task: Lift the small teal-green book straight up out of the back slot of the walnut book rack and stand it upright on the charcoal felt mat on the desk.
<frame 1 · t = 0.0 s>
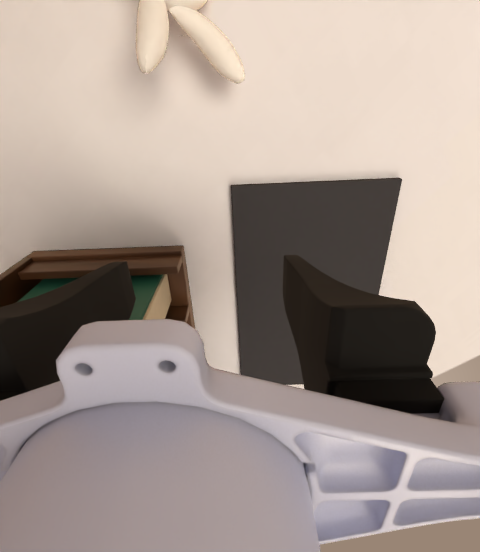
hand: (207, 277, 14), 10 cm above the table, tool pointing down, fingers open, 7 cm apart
rabbit figurine: (188, 28, 18), on the table
book rack: (128, 324, 28), on the table
felt mat: (306, 299, 27), on the table
green book: (111, 287, 25), point 1 cm above the table, touching book rack
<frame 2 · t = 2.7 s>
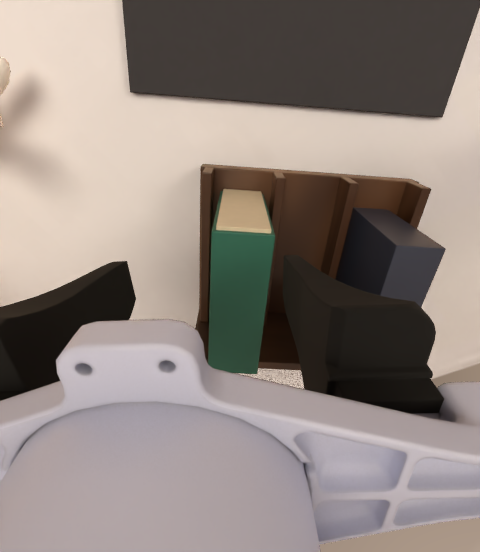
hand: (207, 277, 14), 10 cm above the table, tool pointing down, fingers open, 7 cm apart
book rack: (295, 248, 25), on the table
navy book: (356, 258, 24), point 1 cm above the table, touching book rack
green book: (237, 251, 24), point 1 cm above the table, touching book rack
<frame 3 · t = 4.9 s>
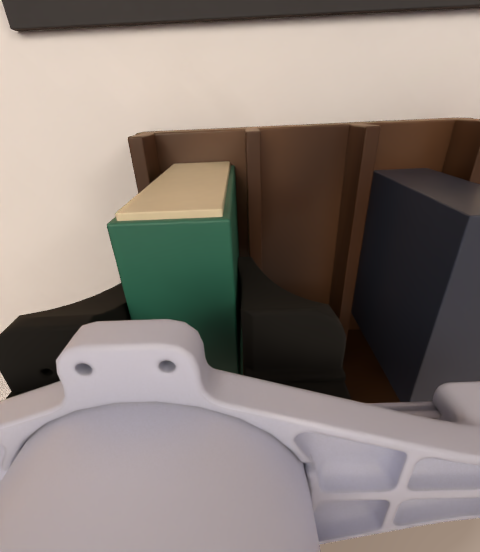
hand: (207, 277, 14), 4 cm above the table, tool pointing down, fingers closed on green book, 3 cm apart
book rack: (293, 242, 17), on the table
navy book: (384, 247, 16), point 1 cm above the table, touching book rack
green book: (211, 254, 16), point 1 cm above the table, touching book rack, gripper
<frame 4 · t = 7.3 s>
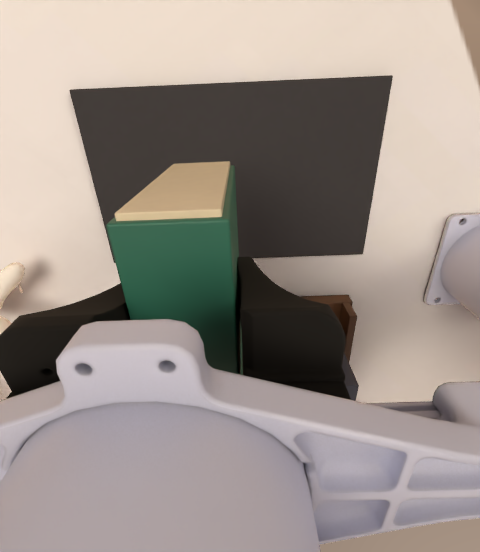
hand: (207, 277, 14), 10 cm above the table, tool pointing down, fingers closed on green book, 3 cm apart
rabbit figurine: (18, 284, 26), on the table
book rack: (262, 349, 30), on the table
navy book: (312, 356, 29), point 1 cm above the table, touching book rack
felt mat: (234, 181, 22), on the table
green book: (210, 254, 16), point 8 cm above the table, touching gripper
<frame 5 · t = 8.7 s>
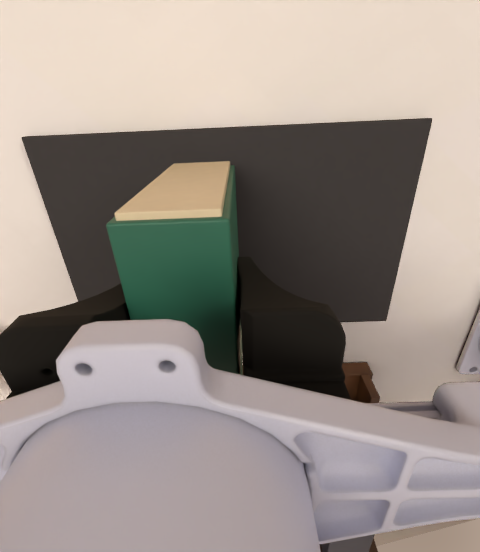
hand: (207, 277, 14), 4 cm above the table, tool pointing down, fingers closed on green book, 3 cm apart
book rack: (265, 418, 26), on the table
navy book: (324, 429, 25), point 1 cm above the table, touching book rack
felt mat: (231, 240, 18), on the table
green book: (210, 254, 16), point 2 cm above the table, touching gripper
when the fingers open (3 cm above the table, at t = 9.5 s): green book stays where it is, resting on felt mat.
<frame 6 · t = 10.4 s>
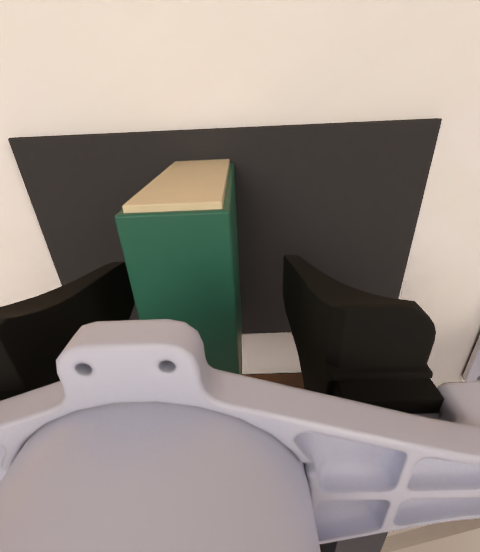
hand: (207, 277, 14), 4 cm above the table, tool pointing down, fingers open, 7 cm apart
book rack: (265, 427, 25), on the table
navy book: (326, 439, 24), point 1 cm above the table, touching book rack
felt mat: (230, 246, 17), on the table
green book: (211, 249, 17), resting on felt mat
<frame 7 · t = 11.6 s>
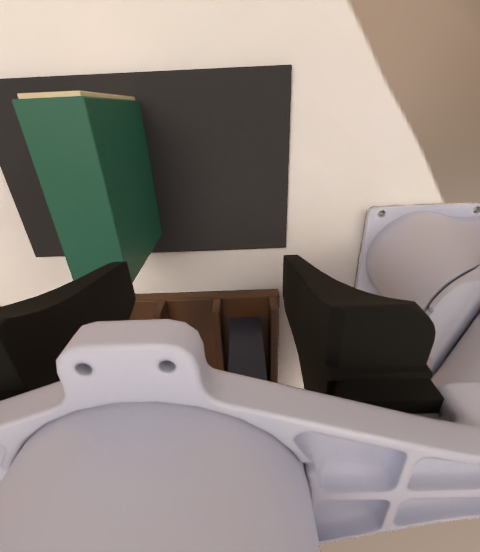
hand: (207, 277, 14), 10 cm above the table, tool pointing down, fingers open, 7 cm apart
book rack: (198, 345, 30), on the table
navy book: (246, 352, 28), point 1 cm above the table, touching book rack
felt mat: (147, 173, 22), on the table
green book: (131, 174, 22), resting on felt mat
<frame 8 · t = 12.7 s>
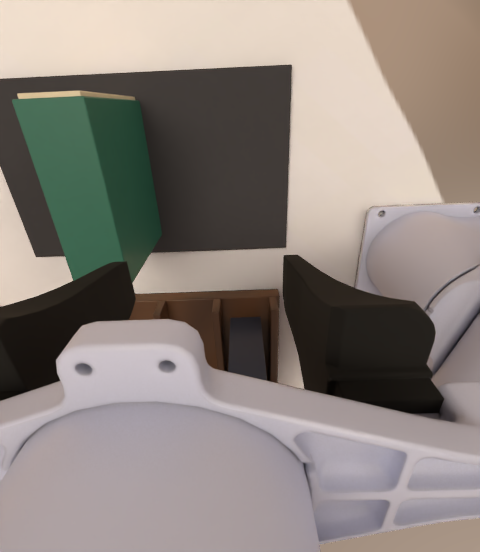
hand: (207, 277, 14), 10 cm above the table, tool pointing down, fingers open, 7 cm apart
book rack: (198, 345, 30), on the table
navy book: (246, 352, 28), point 1 cm above the table, touching book rack
felt mat: (147, 173, 22), on the table
green book: (131, 174, 22), resting on felt mat
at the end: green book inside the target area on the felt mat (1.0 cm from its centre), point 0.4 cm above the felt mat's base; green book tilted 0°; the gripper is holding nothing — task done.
